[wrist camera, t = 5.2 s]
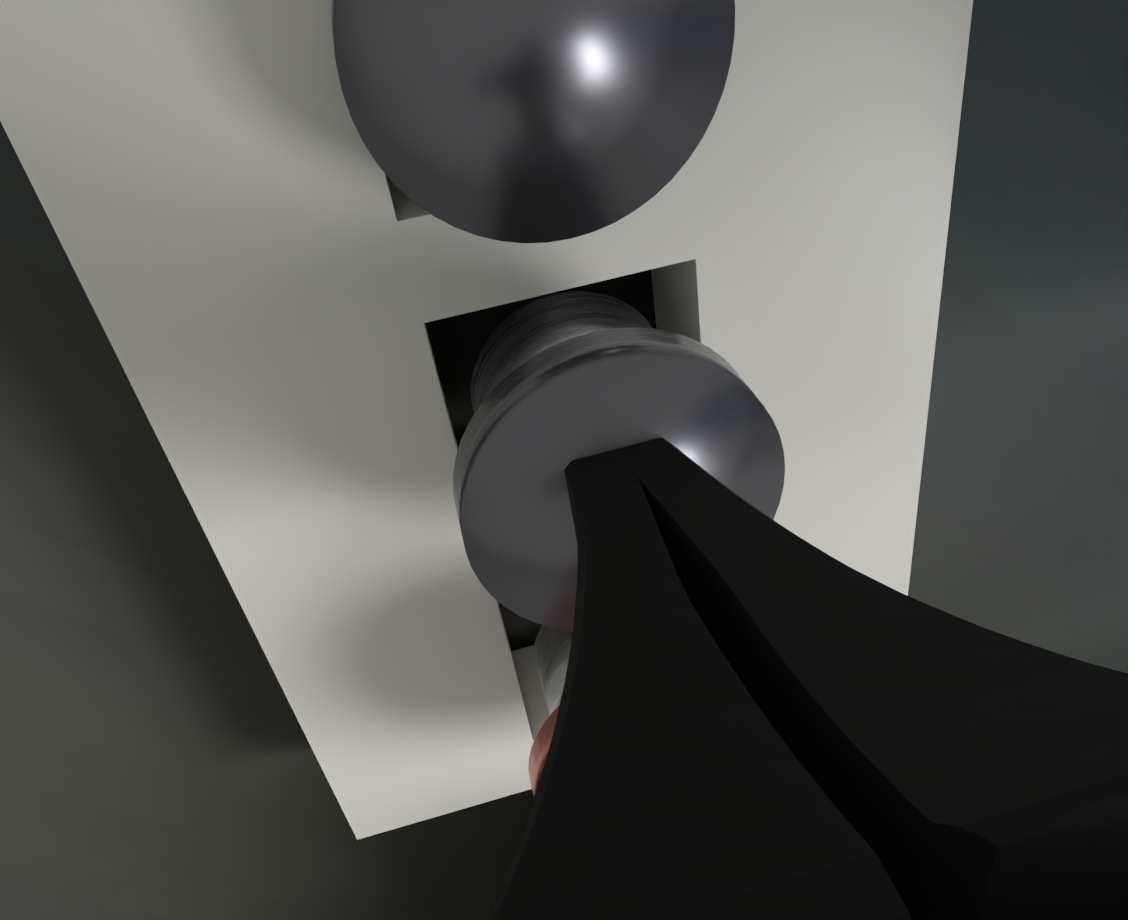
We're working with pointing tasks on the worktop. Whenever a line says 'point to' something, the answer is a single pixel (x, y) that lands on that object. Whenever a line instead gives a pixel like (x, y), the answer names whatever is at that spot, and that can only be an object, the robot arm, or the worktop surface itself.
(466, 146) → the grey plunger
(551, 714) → the copper push button
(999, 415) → the worktop surface
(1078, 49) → the worktop surface
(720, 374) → the grey plunger middle
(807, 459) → the block
